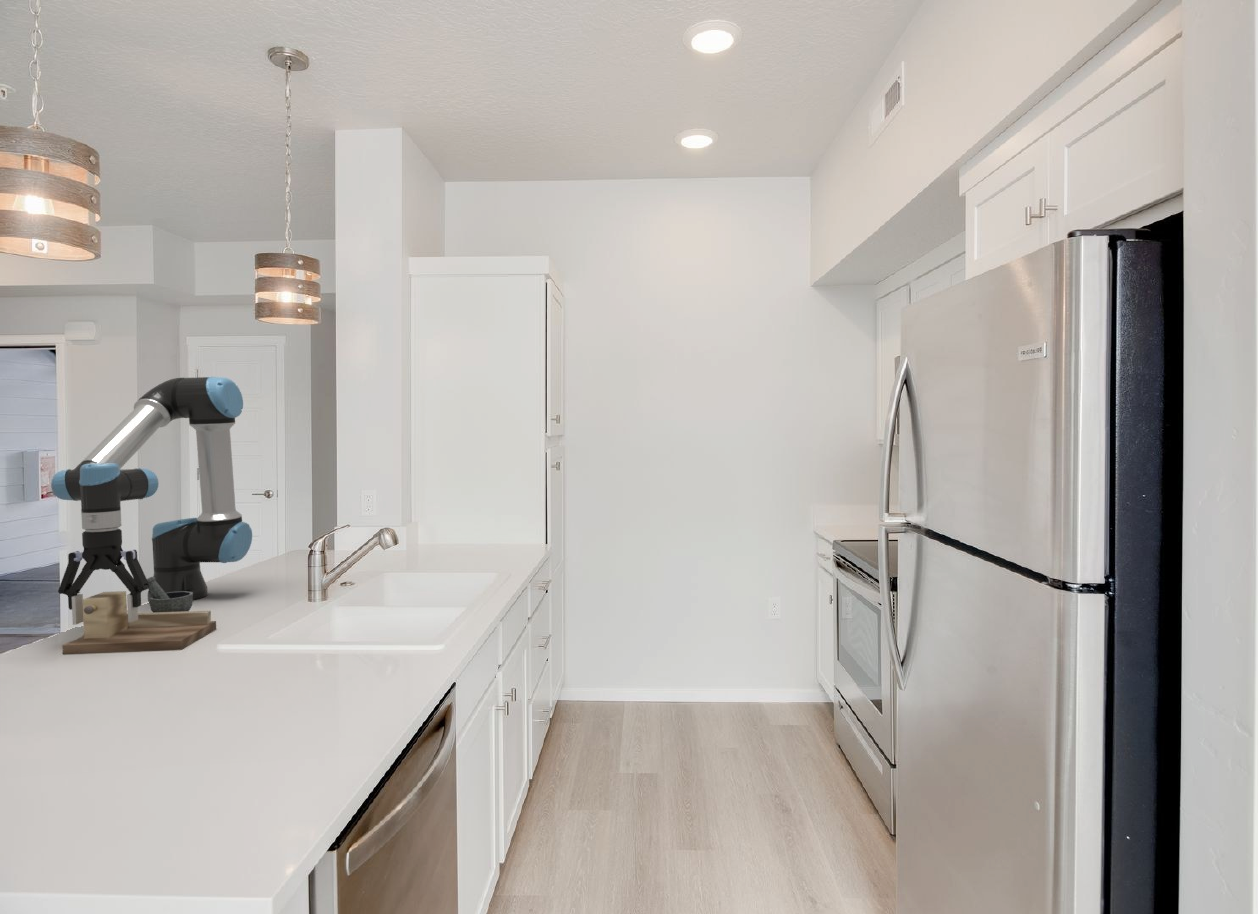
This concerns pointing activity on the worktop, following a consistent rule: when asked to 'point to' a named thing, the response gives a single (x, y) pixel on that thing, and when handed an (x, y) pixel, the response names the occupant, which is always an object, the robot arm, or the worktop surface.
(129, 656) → the worktop surface
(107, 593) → the marking gauge
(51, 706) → the worktop surface
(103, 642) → the walnut board
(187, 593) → the mortar and pestle
